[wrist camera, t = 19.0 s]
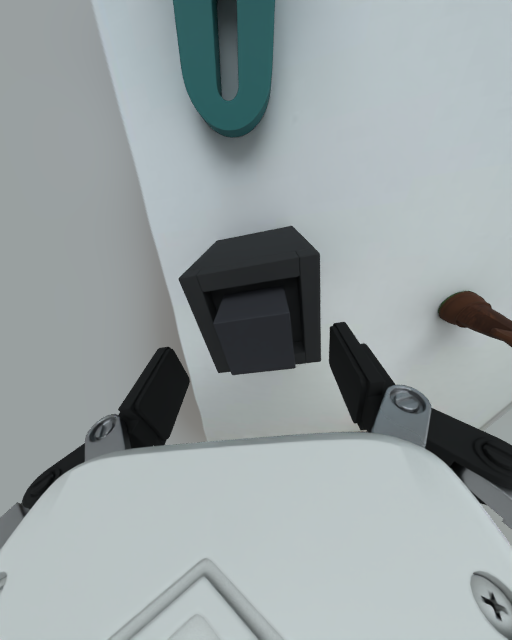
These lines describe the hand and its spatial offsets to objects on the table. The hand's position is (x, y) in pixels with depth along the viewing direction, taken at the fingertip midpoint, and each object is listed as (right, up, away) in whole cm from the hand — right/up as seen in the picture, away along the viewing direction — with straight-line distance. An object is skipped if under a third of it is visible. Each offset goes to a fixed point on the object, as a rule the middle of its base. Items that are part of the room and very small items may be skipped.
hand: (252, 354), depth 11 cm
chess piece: (+28, +4, +15) cm, 33 cm away
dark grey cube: (0, +2, +4) cm, 5 cm away
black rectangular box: (+1, +8, +13) cm, 16 cm away
